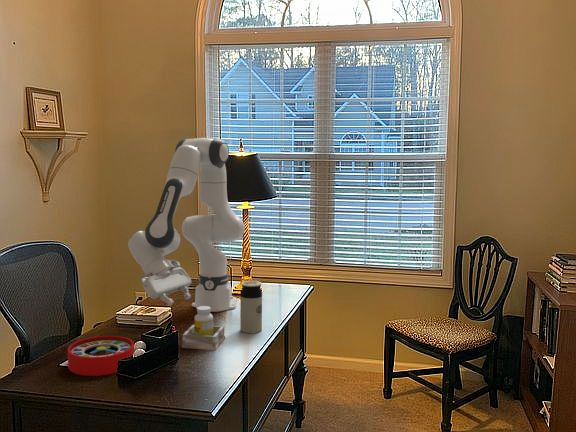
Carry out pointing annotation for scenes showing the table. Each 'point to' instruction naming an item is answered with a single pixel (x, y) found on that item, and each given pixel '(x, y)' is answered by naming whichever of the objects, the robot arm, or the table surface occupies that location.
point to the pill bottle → (203, 321)
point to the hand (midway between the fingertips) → (180, 301)
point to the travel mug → (251, 307)
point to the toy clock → (98, 355)
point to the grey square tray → (203, 339)
